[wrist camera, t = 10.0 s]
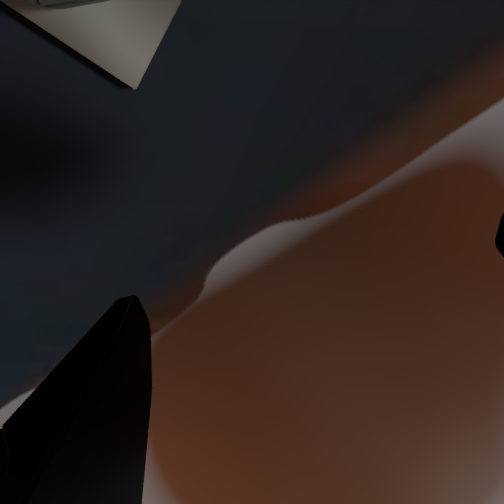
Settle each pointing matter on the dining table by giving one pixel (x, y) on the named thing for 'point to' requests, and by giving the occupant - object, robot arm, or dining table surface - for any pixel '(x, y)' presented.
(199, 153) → the dining table surface
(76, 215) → the dining table surface
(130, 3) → the collar
